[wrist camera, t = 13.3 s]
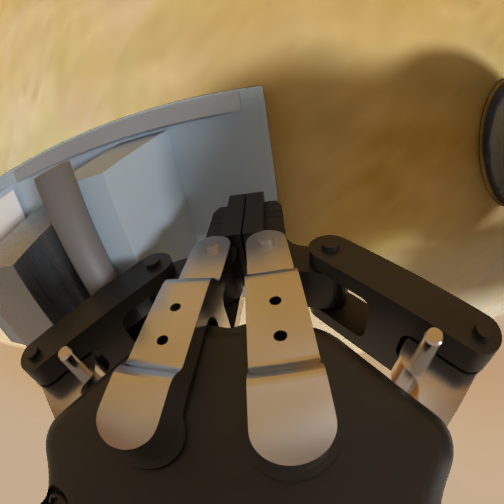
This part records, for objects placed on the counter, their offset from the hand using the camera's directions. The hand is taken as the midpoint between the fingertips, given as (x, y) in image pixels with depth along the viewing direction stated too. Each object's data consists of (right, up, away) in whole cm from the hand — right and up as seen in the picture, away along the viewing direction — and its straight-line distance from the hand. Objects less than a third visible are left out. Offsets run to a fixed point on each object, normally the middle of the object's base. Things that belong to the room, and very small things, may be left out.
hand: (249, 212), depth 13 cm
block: (-8, 0, +2) cm, 9 cm away
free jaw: (-5, 0, +1) cm, 5 cm away
